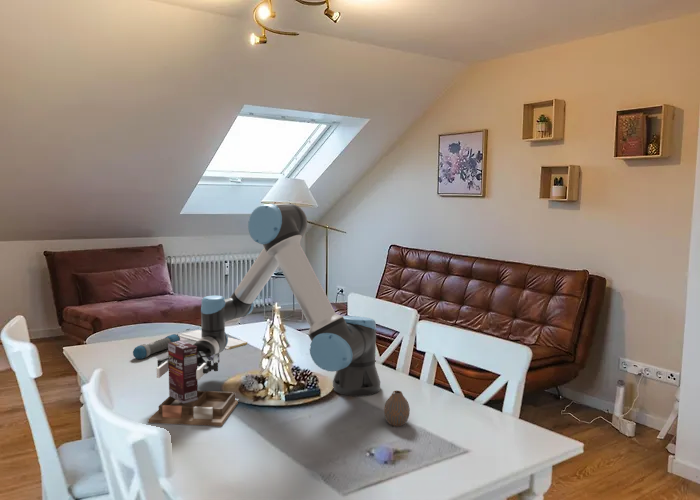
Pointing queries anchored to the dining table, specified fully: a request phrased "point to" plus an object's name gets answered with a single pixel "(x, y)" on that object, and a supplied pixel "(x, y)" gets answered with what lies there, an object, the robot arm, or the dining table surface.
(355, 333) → the robot arm
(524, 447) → the dining table surface
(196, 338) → the baseboard molding
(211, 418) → the organiser board
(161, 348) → the grey and blue cylinder
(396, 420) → the vase
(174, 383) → the supplement box
